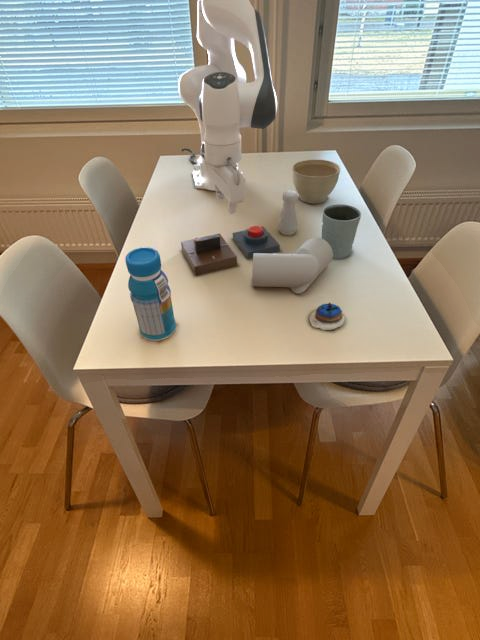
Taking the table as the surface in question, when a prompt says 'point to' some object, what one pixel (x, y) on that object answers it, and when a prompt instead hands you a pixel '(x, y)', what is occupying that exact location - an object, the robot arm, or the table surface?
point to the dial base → (209, 257)
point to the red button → (255, 231)
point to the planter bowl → (315, 179)
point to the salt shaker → (288, 213)
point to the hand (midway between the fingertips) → (225, 205)
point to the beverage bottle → (150, 294)
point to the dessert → (327, 317)
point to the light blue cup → (340, 228)
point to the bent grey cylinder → (292, 266)
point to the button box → (255, 243)
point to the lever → (207, 243)
